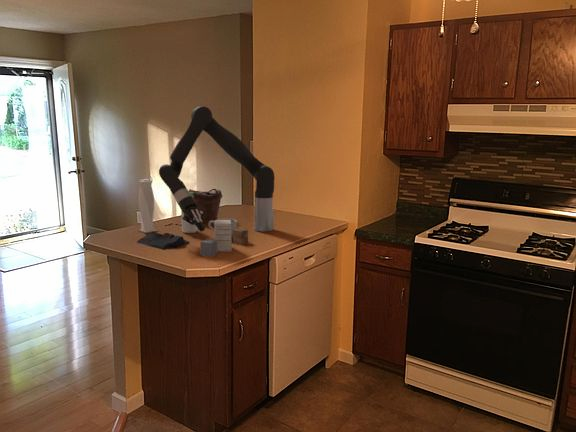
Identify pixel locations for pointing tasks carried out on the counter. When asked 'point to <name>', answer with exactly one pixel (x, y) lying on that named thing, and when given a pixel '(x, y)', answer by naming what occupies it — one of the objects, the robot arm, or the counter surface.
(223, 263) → the counter surface
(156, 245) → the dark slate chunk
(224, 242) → the supplement box
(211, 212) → the wooden bucket
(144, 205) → the skyscraper
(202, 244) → the slate-grey block
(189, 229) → the milk bottle
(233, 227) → the teacup
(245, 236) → the walnut block
